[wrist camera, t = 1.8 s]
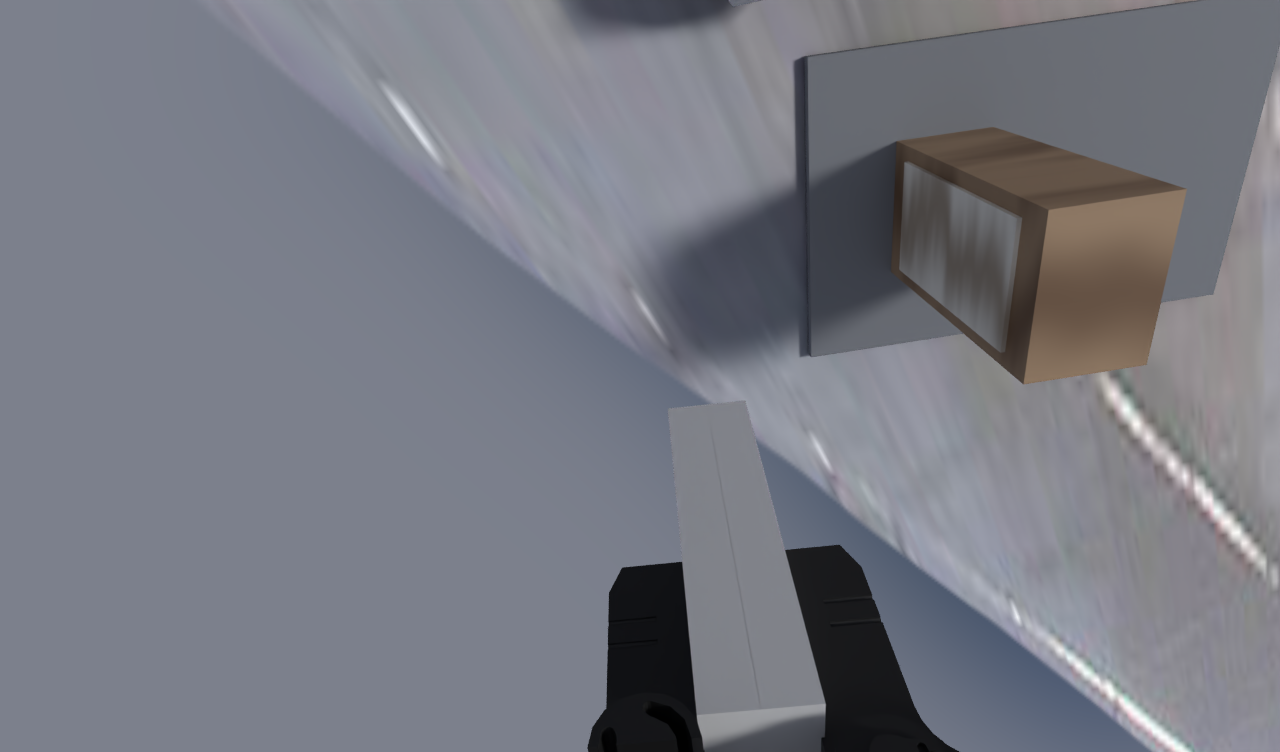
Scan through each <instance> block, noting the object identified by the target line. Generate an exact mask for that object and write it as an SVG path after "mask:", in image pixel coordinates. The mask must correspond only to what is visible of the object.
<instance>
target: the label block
mask: <svg viewBox="0 0 1280 752" xmlns="http://www.w3.org/2000/svg"><path fill="white" fill-rule="evenodd" d="M1186 191H1187V189H1186V188H1182V187H1179V186H1176V185H1173V184H1170V183H1167V182H1164V181H1161V180H1157V179H1154V178H1151V177H1148V176H1145V175H1142V174H1139V173H1136V172H1132V171H1129V170H1126V169H1123V168H1120V167H1117V166H1114V165H1111V164H1108V163H1104V162H1101V161H1098V160H1095V159H1092V158H1089V157H1086V156H1083V155H1079V154H1076V153H1073V152H1070V151H1067V150H1064V149H1061V148H1058V147H1054V146H1051V145H1048V144H1045V143H1042V142H1039V141H1036V140H1033V139H1029V138H1026V137H1023V136H1020V135H1017V134H1014V133H1011V132H1008V131H1005V130H1001V129H998V128H995V127H989V128H982V129H975V130H969V131H962V132H955V133H948V134H941V135H935V136H928V137H921V138H914V139H907V140H901V141H897V143H896V166H895V189H894V213H893V236H892V259H891V272H892V273H893V274H894V275H895V276H896V277H898V278H899V279H900V280H901V281H902V282H903V283H905V284H906V285H907V286H908V287H909V288H911V289H912V290H913V291H914V292H915V293H916V294H918V295H919V296H920V297H921V298H922V299H923V300H925V301H926V302H927V303H928V304H929V305H931V306H932V307H933V308H934V309H935V310H936V311H938V312H939V313H940V314H941V315H942V316H944V317H945V318H946V319H947V320H948V321H949V322H951V323H952V324H953V325H954V326H955V327H957V328H958V329H959V330H960V331H961V332H962V333H964V334H965V335H966V336H967V337H968V338H969V339H971V340H972V341H973V342H974V343H975V344H977V345H978V346H979V347H980V348H981V349H982V350H984V351H985V352H986V353H987V354H988V355H990V356H991V357H992V358H993V359H994V360H995V361H997V362H998V363H999V364H1000V365H1001V366H1003V367H1004V368H1005V369H1006V370H1007V371H1008V372H1010V373H1011V374H1012V375H1013V376H1014V377H1015V378H1017V379H1018V380H1019V381H1020V382H1021V383H1023V384H1029V383H1035V382H1042V381H1048V380H1054V379H1060V378H1067V377H1073V376H1079V375H1085V374H1092V373H1098V372H1104V371H1111V370H1117V369H1123V368H1129V367H1136V366H1142V365H1146V364H1147V360H1148V356H1149V351H1150V347H1151V343H1152V338H1153V334H1154V330H1155V325H1156V321H1157V317H1158V312H1159V308H1160V304H1161V299H1162V295H1163V291H1164V286H1165V282H1166V278H1167V273H1168V269H1169V265H1170V261H1171V256H1172V252H1173V248H1174V243H1175V239H1176V235H1177V230H1178V226H1179V222H1180V217H1181V213H1182V209H1183V204H1184V200H1185V196H1186Z"/></svg>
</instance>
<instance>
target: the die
mask: <svg viewBox="0 0 1280 752" xmlns="http://www.w3.org/2000/svg"><path fill="white" fill-rule="evenodd" d="M728 1H729V2H730V4H731V5H732V7H735V6H739V5H743V4H748V3H752V2H757V1H761V0H728Z"/></svg>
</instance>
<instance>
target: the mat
mask: <svg viewBox="0 0 1280 752" xmlns="http://www.w3.org/2000/svg"><path fill="white" fill-rule="evenodd" d="M1279 46H1280V0H1196V1H1189V2H1182V3H1175V4H1168V5H1161V6H1154V7H1147V8H1140V9H1133V10H1126V11H1119V12H1112V13H1105V14H1098V15H1091V16H1084V17H1077V18H1070V19H1063V20H1056V21H1049V22H1042V23H1035V24H1028V25H1021V26H1014V27H1007V28H1000V29H993V30H986V31H979V32H972V33H965V34H958V35H951V36H944V37H937V38H930V39H923V40H916V41H909V42H902V43H895V44H888V45H881V46H874V47H867V48H860V49H852V50H845V51H838V52H831V53H824V54H817V55H810V56H805V127H806V199H807V271H808V343H809V355H810V356H811V357H816V356H822V355H829V354H835V353H842V352H848V351H854V350H861V349H867V348H874V347H880V346H886V345H893V344H899V343H905V342H912V341H918V340H925V339H931V338H937V337H944V336H950V335H957V334H963V333H962V332H961V331H960V330H959V329H958V328H957V327H955V326H954V325H953V324H952V323H951V322H949V321H948V320H947V319H946V318H945V317H944V316H942V315H941V314H940V313H939V312H938V311H936V310H935V309H934V308H933V307H932V306H931V305H929V304H928V303H927V302H926V301H925V300H923V299H922V298H921V297H920V296H919V295H918V294H916V293H915V292H914V291H913V290H912V289H911V288H909V287H908V286H907V285H906V284H905V283H903V282H902V281H901V280H900V279H899V278H898V277H896V276H895V275H894V274H893V273H892V272H891V259H892V236H893V213H894V189H895V166H896V143H897V141H901V140H907V139H914V138H921V137H928V136H935V135H941V134H948V133H955V132H962V131H969V130H975V129H982V128H989V127H995V128H998V129H1001V130H1005V131H1008V132H1011V133H1014V134H1017V135H1020V136H1023V137H1026V138H1029V139H1033V140H1036V141H1039V142H1042V143H1045V144H1048V145H1051V146H1054V147H1058V148H1061V149H1064V150H1067V151H1070V152H1073V153H1076V154H1079V155H1083V156H1086V157H1089V158H1092V159H1095V160H1098V161H1101V162H1104V163H1108V164H1111V165H1114V166H1117V167H1120V168H1123V169H1126V170H1129V171H1132V172H1136V173H1139V174H1142V175H1145V176H1148V177H1151V178H1154V179H1157V180H1161V181H1164V182H1167V183H1170V184H1173V185H1176V186H1179V187H1182V188H1186V189H1187V191H1186V196H1185V200H1184V204H1183V209H1182V213H1181V217H1180V222H1179V226H1178V230H1177V235H1176V239H1175V243H1174V248H1173V252H1172V256H1171V261H1170V265H1169V269H1168V273H1167V278H1166V282H1165V286H1164V291H1163V295H1162V299H1161V302H1167V301H1174V300H1180V299H1186V298H1193V297H1199V296H1206V295H1212V294H1213V293H1214V290H1215V286H1216V282H1217V278H1218V275H1219V271H1220V267H1221V263H1222V260H1223V256H1224V252H1225V248H1226V244H1227V241H1228V237H1229V233H1230V229H1231V226H1232V222H1233V218H1234V214H1235V211H1236V207H1237V203H1238V199H1239V196H1240V192H1241V188H1242V184H1243V181H1244V177H1245V173H1246V169H1247V166H1248V162H1249V158H1250V154H1251V151H1252V147H1253V143H1254V139H1255V136H1256V132H1257V128H1258V124H1259V121H1260V117H1261V113H1262V109H1263V106H1264V102H1265V98H1266V94H1267V91H1268V87H1269V83H1270V79H1271V76H1272V72H1273V68H1274V64H1275V61H1276V57H1277V53H1278V49H1279Z"/></svg>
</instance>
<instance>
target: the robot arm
mask: <svg viewBox="0 0 1280 752" xmlns="http://www.w3.org/2000/svg"><path fill="white" fill-rule="evenodd" d="M668 416H669V426H670V437H671V446H672V458H673V469H674V479H675V490H676V500H677V511H678V522H679V532H680V543H681V553H682V562H676V563H666V564H655V565H646V566H635V567H624V568H622V569H621V571H620V573H619V575H618V577H617V579H616V581H615V583H614V585H613V586H612V588H611V590H610V592H609V627H608V664H607V707H606V710H604V712H603V713H602V715H601V716H600V717H599V719H598V720H597V722H596V723H595V725H594V726H593V728H592V732H591V736H590V740H589V744H588V752H959V751H957V750H955V749H953V748H952V747H950V746H948V745H947V744H945V743H944V742H943V741H942V740H940V739H939V738H938V737H937V736H935V735H934V734H933V733H932V732H931V731H930V729H929V728H928V727H927V726H926V725H925V723H924V722H923V721H922V720H921V718H920V716H919V714H918V712H917V710H916V708H915V707H914V704H913V701H912V699H911V696H910V693H909V691H908V688H907V686H906V683H905V680H904V678H903V675H902V672H901V670H900V667H899V664H898V662H897V659H896V657H895V654H894V651H893V649H892V646H891V643H890V641H889V638H888V635H887V633H886V630H885V628H884V625H883V623H882V622H881V619H880V614H879V612H878V609H877V607H876V604H875V601H874V600H873V599H872V594H871V591H870V588H869V586H868V583H867V580H866V578H865V575H864V573H863V570H862V567H861V566H860V565H859V564H858V563H857V562H856V561H855V560H854V559H853V558H852V557H851V556H850V555H849V554H848V553H847V552H846V551H845V550H844V549H843V548H842V547H841V546H840V545H834V546H822V547H812V548H801V549H791V550H785V548H784V545H783V541H782V537H781V533H780V530H779V526H778V522H777V518H776V514H775V511H774V507H773V503H772V499H771V496H770V492H769V488H768V484H767V481H766V477H765V473H764V469H763V465H762V462H761V458H760V454H759V450H758V446H757V443H756V439H755V435H754V431H753V428H752V424H751V420H750V416H749V412H748V409H747V405H746V401H736V402H727V403H717V404H708V405H699V406H689V407H680V408H671V409H668Z"/></svg>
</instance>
